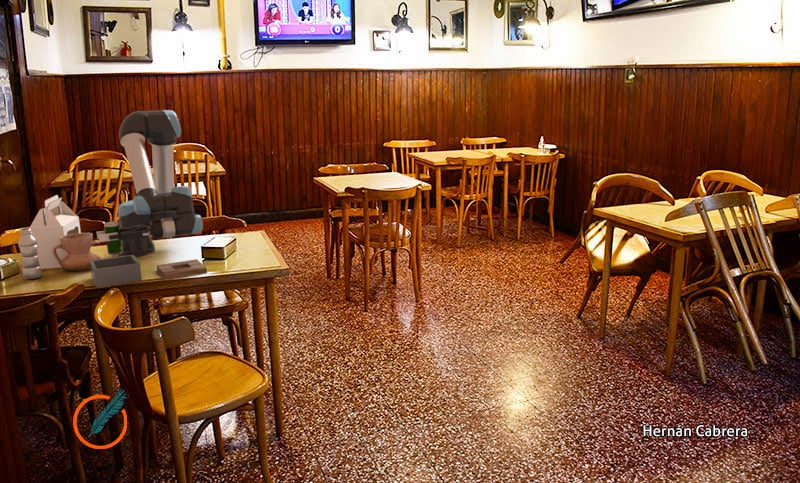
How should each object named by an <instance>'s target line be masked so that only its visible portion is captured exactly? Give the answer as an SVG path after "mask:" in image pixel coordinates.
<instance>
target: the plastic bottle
mask: <svg viewBox="0 0 800 483" xmlns="http://www.w3.org/2000/svg"><path fill="white" fill-rule="evenodd" d="M19 233H20V235H21V236H20V237H19V239H18V243H17V244H18V248H19V251H20V255H21V259H22V275H23V278H24V279H25V280H35V279H38V278H41V277H42V274H43V269H41V267H40V264H39V260H38V255H37V254H38V253H37V240H36V238H35V237H34V236H32V235H31V233H32V232H31V228H30V227H26V228H25V227H24V228H20V230H19Z"/></svg>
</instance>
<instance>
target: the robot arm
mask: <svg viewBox="0 0 800 483" xmlns="http://www.w3.org/2000/svg"><path fill="white" fill-rule="evenodd" d="M118 131H119V132H118V137H119V143H120V145H121V146H122V147H123V148H124V151H125V154H126V158H127V162H128V165H129V170H130V173H131V174H130V175H131V176H132V178H131V179H132V181H133V184H134V188H135V193H136V195H135V196H134V197H133V198H132V199H131V200H127V201H125V202H122V203H121V204H119V205H118V207H117V211H118V213H117V217H118V220H119V221H118V222H119V226H120V231H118V233H117V232H116V233H108V234H105V230H101V231H100V230H99V231H96V237H97V239H96V240H98V241H100V242H99V243H104V242H105V243H106V241H112V240H118V239H119V240H121V241H122V249H123V252H122V253H121V254H119V256H127V255H134V256H135V257H138V256H145V255H149V254H152V253H154V252H155V251H156V247H155V243H154V241H153V240H157V239H158V240H160V239H163V238H169V239H172V238H173V237H180V236H188V235H195V234H200V233H201V232H202V231H203V228H204V224H203V218H202V216H201V215H200V214H196V213H195V209H194V208H195V207H194V202H193V195H192V190H191V187H190V186H187V185H180V186H175V172H174V171H175V170H174V169H175V168H174V145H175V144H177V139H179V138H180V137H181V135H182V130H181V125H180V121H179V118H178V115H177V114H176V112H175V111H174V110H171V109H168V110H167V109H161V110H160V109H158V110H157V109H156V110H137V111H134V112H133V111H132V112H131V113H129V114H128V115H127V116H126V117H124V119H123V120H122V122H121V124H120V127H119V130H118ZM146 140H147V142H148V144H150V145H151V151H152V152H151V153H152V154H151V155H152V169H151V165H150V162H149V157H148V154H147V150H146V146H145V142H146Z"/></svg>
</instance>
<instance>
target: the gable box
mask: <svg viewBox="0 0 800 483" xmlns="http://www.w3.org/2000/svg"><path fill="white" fill-rule="evenodd" d="M29 228H31V232H32V233H31V235H32V236H34V237H35V238H36V240H37V253H38V254H37V255H38V260H39V264H40V267H41V270H44V269H45V270H46V269H61V268H62V267H61V266H60V264H59V262H58V261H57V259H56V258H55V257H54V255H53V252H52V249H53V247H54V246H55V245H58V244H60V245H62V244H61V241H60V237H61V236H65V235H70V234H78V233H82V232H81V224H80V217H79V216H78V215H77V214H76V213H75V212H74V211H73V210H72V209H71V208H70V207H69V206H68V205H67V204H66V203H65V202H64V201H62V196H61V197H59V195H58V194H55V195H53V196H51V197H49V198H47V199H45V200H44V201H43V208H40V209H39V210H38V212H37V214H36V216H35V217H34V219H33V221H32V223H31V225H30V226H29ZM56 253H57V255H58V257H59V258H60V260H61V261H62V260H63V259H64V258H65V257H66V256H67V255H68V254H67V252H66V251H65V250H63V249H61V248H57V249H56ZM62 269H63V268H62Z"/></svg>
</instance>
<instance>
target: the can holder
mask: <svg viewBox="0 0 800 483" xmlns="http://www.w3.org/2000/svg"><path fill="white" fill-rule="evenodd" d="M156 269H157V271H158V272H159V274H160V275H161V276H162V277H163V279H164V280H170V279H176V278H182V277H188V276H194V275H195V276H196V275H201V274H207V273H208V271H207V270H208V269H207V266H205V264H203V263H202V262H200V260H198V259H197V258H195V259H188V260H181V261H176V262H170V263H169V262H167V263H163V264H156Z"/></svg>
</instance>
